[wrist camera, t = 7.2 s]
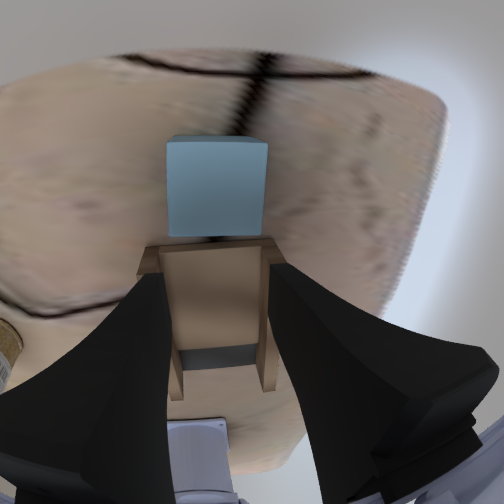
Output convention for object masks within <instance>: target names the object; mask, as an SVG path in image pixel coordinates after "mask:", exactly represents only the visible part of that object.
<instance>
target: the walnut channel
mask: <svg viewBox="0 0 504 504" xmlns="http://www.w3.org/2000/svg"><path fill="white" fill-rule="evenodd" d="M279 263H287V262H286V260H285V259H284V257H283V255H282V253H281V252H280V250H279V248H278V246H277V245H276V243H275V241H274V240H273V239H259V240H243V241H228V242H214V243H199V244H185V245H172V246H158V247H145V250H144V253H143V256H142V259H141V262H140V265H139V269H138V272H137V280H138V281H139V280H140V279H141V277H142V276H143V275H144V274H145V273H160V272H163V275H164V281H165V287H166V293H167V298H168V304H169V309H170V314H171V319H172V353H171V363H170V373H169V384H168V392H169V395H170V398H171V401H179V400H183V371H185V370H200V369H213V368H224V367H234V366H243V365H251V364H256V367H257V371H258V375H259V379H260V383H261V386H262V390H263V392H270V391H275V387H276V379H277V370H278V361H279V350H278V348H277V345H276V343H275V340H274V338H273V334H272V330H271V326H270V322H269V318H268V314H267V311H268V291H269V270H270V264H279Z"/></svg>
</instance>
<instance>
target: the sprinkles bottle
mask: <svg viewBox="0 0 504 504" xmlns="http://www.w3.org/2000/svg"><path fill="white" fill-rule="evenodd" d="M22 348H23V347H22V341H21V339H20V337H19V336H18V334H17V333H16V332H15V330H14V329H13V328H12V327H11V326H10V325H9V324H7V323H5V322H4V321H2V320H0V394H3V392H4V389H5V387H6V384H7V382H8V379H9V377H10V374H11V370H12V368H13V366H14V364H15V361H16V359H17V357H18V355H19V354H20V353H21V352H22Z"/></svg>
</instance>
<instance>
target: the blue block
mask: <svg viewBox="0 0 504 504" xmlns="http://www.w3.org/2000/svg"><path fill="white" fill-rule="evenodd" d="M267 152H268V143H265V142H263V141H261V140H258V139H256V138H253V137H250V136H206V135H202V136H174V137H173V138H171V139H170V140H169V141H168V142H167V205H168V227H169V237H193V236H241V235H261V231H262V218H263V205H264V192H265V179H266V165H267Z"/></svg>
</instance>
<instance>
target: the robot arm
mask: <svg viewBox="0 0 504 504" xmlns="http://www.w3.org/2000/svg"><path fill="white" fill-rule="evenodd" d="M267 314H268V318H269V322H270V326H271V330H272V334H273V338H274V340H275V343H276V345H277V348H278V350H279V353H280V355H281V358H282V360H283V362H284V365H285V367H286V370H287V372H288V375H289V377H290V379H291V382H292V384H293V387H294V389H295V392H296V395H297V398H298V401H299V404H300V408H301V411H302V415H303V418H304V422H305V426H306V429H307V433H308V437H309V441H310V445H311V449H312V453H313V458H314V462H315V466H316V470H317V475H318V480H319V485H320V490H321V495H322V501H323V504H406V503H408V502H410V501H412V500H414V499H415V498H417V497H418V498H417V499H416V500H415V503H414V504H504V415H503V416H502V417H501V418H500V419H499V420H497V421H496V422H495V423H494V424H493V425H491V426H490V427H489V428H487V429H486V430H485V431H484V432H482V433H481V434H480V435H478V436H477V434H476V433H475V431H474V430H473V428H472V426H474V425H475V424H476V419H475V418H474V416H473V415H472V412H473V411H474V409H475V408H476V407H477V406H478V405H479V403H480V402H481V401H482V400H483V399H484V397H485V396H486V395H487V393H488V392H489V391H490V389H491V388H492V386H493V385H494V384H495V382H496V380H497V378H498V375H499V367H498V366H497V364H496V363H495V362H494V361H493V360H492V358H491V357H490V356H489V355H488V354H487V353H486V351H485V350H484V349H483V348H481V347H477V346H472V345H465V344H459V343H454V342H449V341H444V340H440V339H436V338H432V337H429V336H425V335H422V334H419V333H416V332H412V331H410V330H407V329H404V328H402V327H399V326H396V325H394V324H391V323H388V322H386V321H384V320H382V319H379V318H377V317H375V316H373V315H371V314H369V313H367V312H365V311H363V310H361V309H359V308H357V307H355V306H354V305H352V304H350V303H348V302H347V301H345V300H343V299H342V298H340V297H338V296H337V295H335V294H333V293H332V292H330V291H329V290H327V289H326V288H324V287H323V286H321V285H320V284H318V283H317V282H315V281H314V280H312V279H311V278H310V277H308V276H307V275H305V274H304V273H302V272H301V271H300V270H298V269H297V268H295V267H294V266H292V265H290V264H289V263H279V264H270V270H269V291H268V311H267ZM171 353H172V319H171V314H170V309H169V304H168V298H167V293H166V287H165V281H164V275H163V272H160V273H145V274H144V275H143V276H142V277H141V279H140V280H139V281H138V282H137V283H136V284H135V286H134V287H133V288H132V289H131V290H130V292H129V293H128V294H127V295H126V296H125V297H124V299H123V300H122V301H121V302H120V303H119V304H118V305H117V307H116V308H115V309H114V310H113V311H112V312H111V313H110V314H109V315H108V316H107V317H106V318H105V319H104V320H103V321H102V322H101V323H100V324H99V326H98V327H97V328H95V329H94V330H93V331H92V332H91V333H90V334H89V335H88V336H87V337H86V338H85V339H83V340H82V341H81V342H80V343H79V344H78V345H77V346H75V347H74V348H73V349H72V350H70V351H69V352H68V353H66V354H65V355H64V356H62V357H61V358H60V359H58V360H57V361H56V362H54V363H53V364H52V365H50V366H49V367H48V368H46V369H45V370H43V371H41V372H40V373H38V374H37V375H35V376H34V377H32V378H30V379H29V380H27V381H25V382H24V383H22V384H20V385H18V386H17V387H15V388H13V389H11V390H9V391H7V392H5V393H3V394H0V476H1V477H3V478H5V479H6V480H7V481H9V482H10V483H11V484H13V485H14V486H16V487H17V490H16V496H15V498H12V497H10V496H8V495H5V494H3V493H1V492H0V504H249V503H248V502H247V501H245V500H244V499H238V495H237V493H234V492H233V486H232V481H231V475H230V469H229V463H228V457H227V452H228V451H229V443H228V436H227V429H226V421H225V419H224V418H217V419H205V420H189V421H167V395H168V384H169V373H170V363H171Z"/></svg>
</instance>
